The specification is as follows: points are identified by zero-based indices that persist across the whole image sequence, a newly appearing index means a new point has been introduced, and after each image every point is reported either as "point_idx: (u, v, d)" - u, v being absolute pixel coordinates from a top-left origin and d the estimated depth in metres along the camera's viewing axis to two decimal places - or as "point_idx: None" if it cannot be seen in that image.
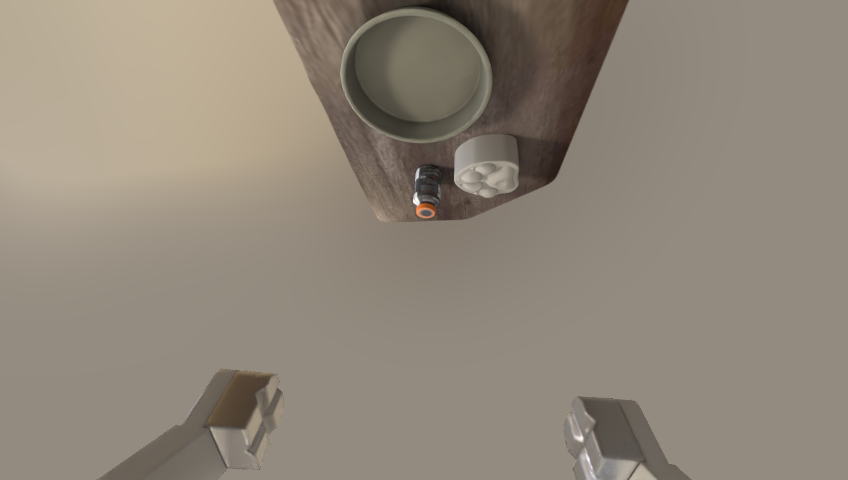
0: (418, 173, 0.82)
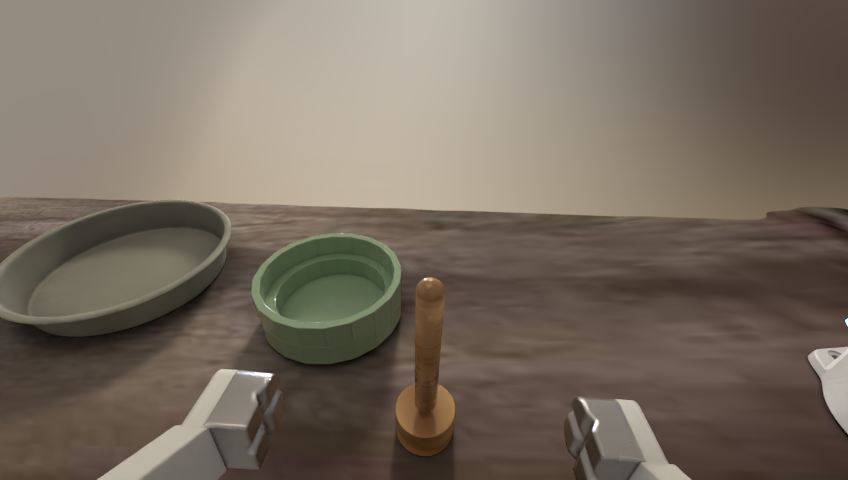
0: None
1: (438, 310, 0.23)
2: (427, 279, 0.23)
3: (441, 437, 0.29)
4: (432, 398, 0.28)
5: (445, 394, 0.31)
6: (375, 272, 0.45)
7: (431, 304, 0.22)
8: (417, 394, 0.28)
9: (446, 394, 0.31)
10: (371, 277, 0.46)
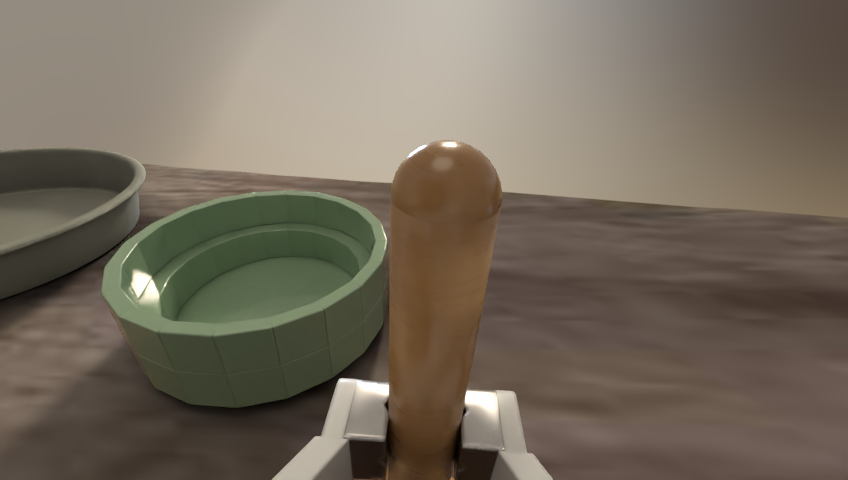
0: None
1: (476, 273, 0.06)
2: (437, 141, 0.06)
3: None
4: None
5: None
6: (347, 253, 0.28)
7: (450, 237, 0.05)
8: None
9: None
10: (342, 262, 0.29)
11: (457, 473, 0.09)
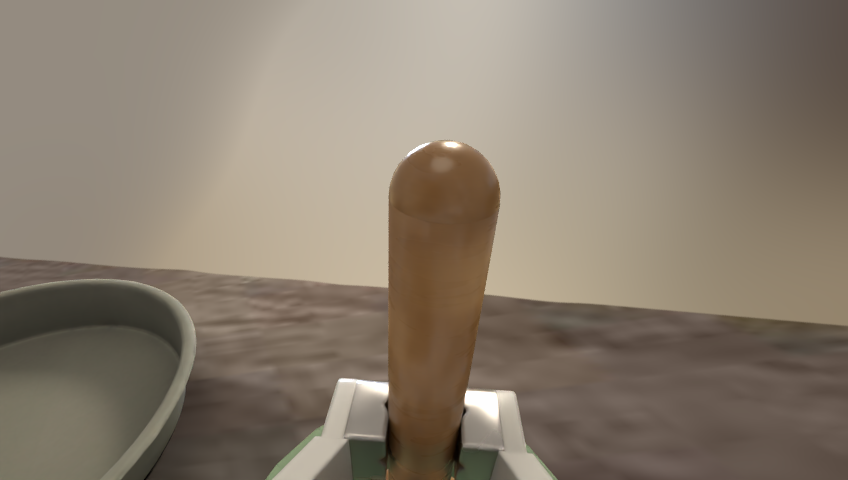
0: None
1: (474, 273, 0.06)
2: (435, 141, 0.06)
3: None
4: None
5: None
6: None
7: (448, 237, 0.05)
8: None
9: None
10: None
11: (457, 473, 0.09)
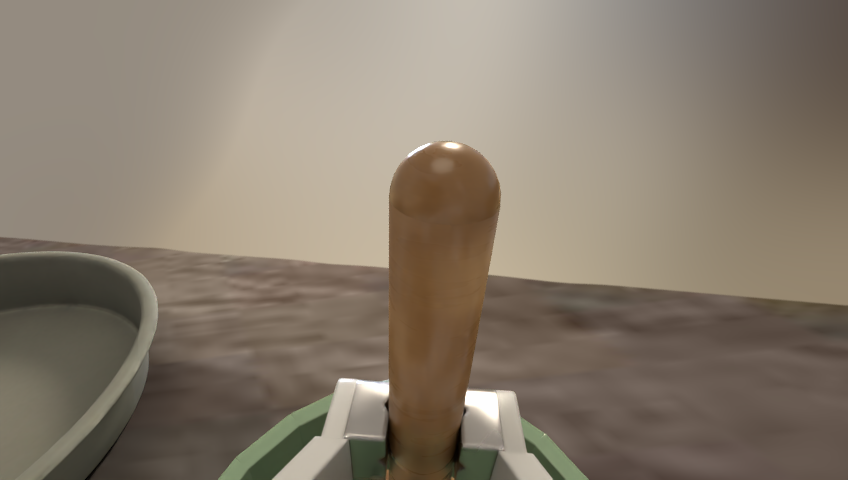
0: None
1: (475, 273, 0.06)
2: (435, 142, 0.06)
3: None
4: None
5: None
6: None
7: (448, 239, 0.05)
8: None
9: None
10: None
11: (457, 473, 0.09)
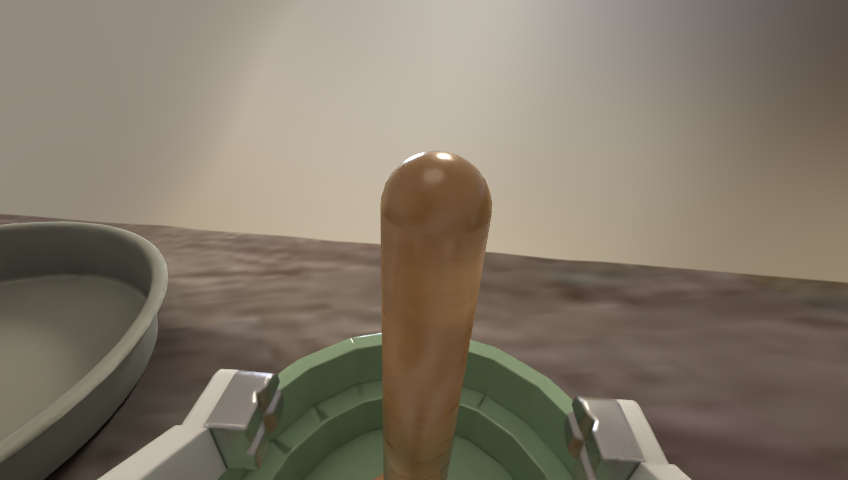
0: None
1: (466, 283, 0.06)
2: (427, 152, 0.06)
3: None
4: None
5: None
6: (512, 446, 0.17)
7: (439, 249, 0.05)
8: None
9: None
10: (493, 449, 0.18)
11: None
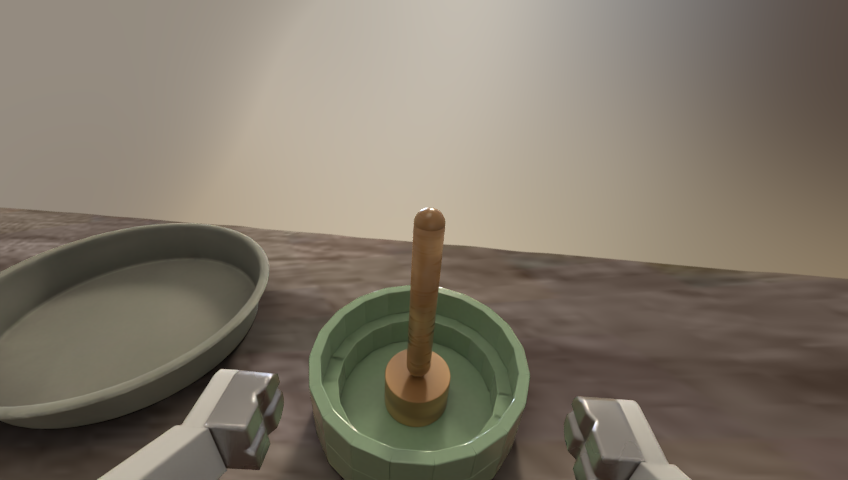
0: None
1: (438, 244, 0.21)
2: (427, 208, 0.21)
3: (433, 403, 0.26)
4: (426, 359, 0.26)
5: (440, 361, 0.29)
6: (470, 344, 0.32)
7: (430, 234, 0.20)
8: (409, 353, 0.26)
9: (441, 361, 0.29)
10: (462, 349, 0.33)
11: None
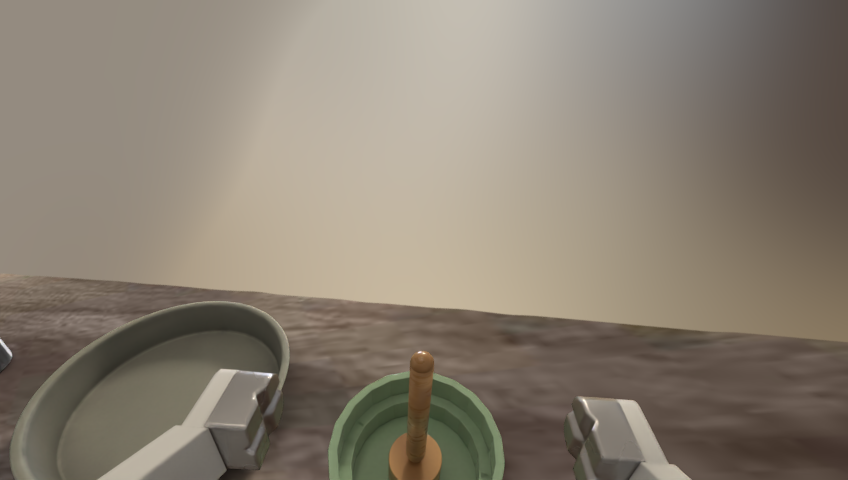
0: (4, 347, 0.44)
1: (428, 380, 0.27)
2: (420, 353, 0.27)
3: None
4: (421, 451, 0.32)
5: (433, 444, 0.35)
6: (459, 424, 0.38)
7: (422, 375, 0.27)
8: (408, 446, 0.32)
9: (435, 445, 0.35)
10: (453, 426, 0.39)
11: None
